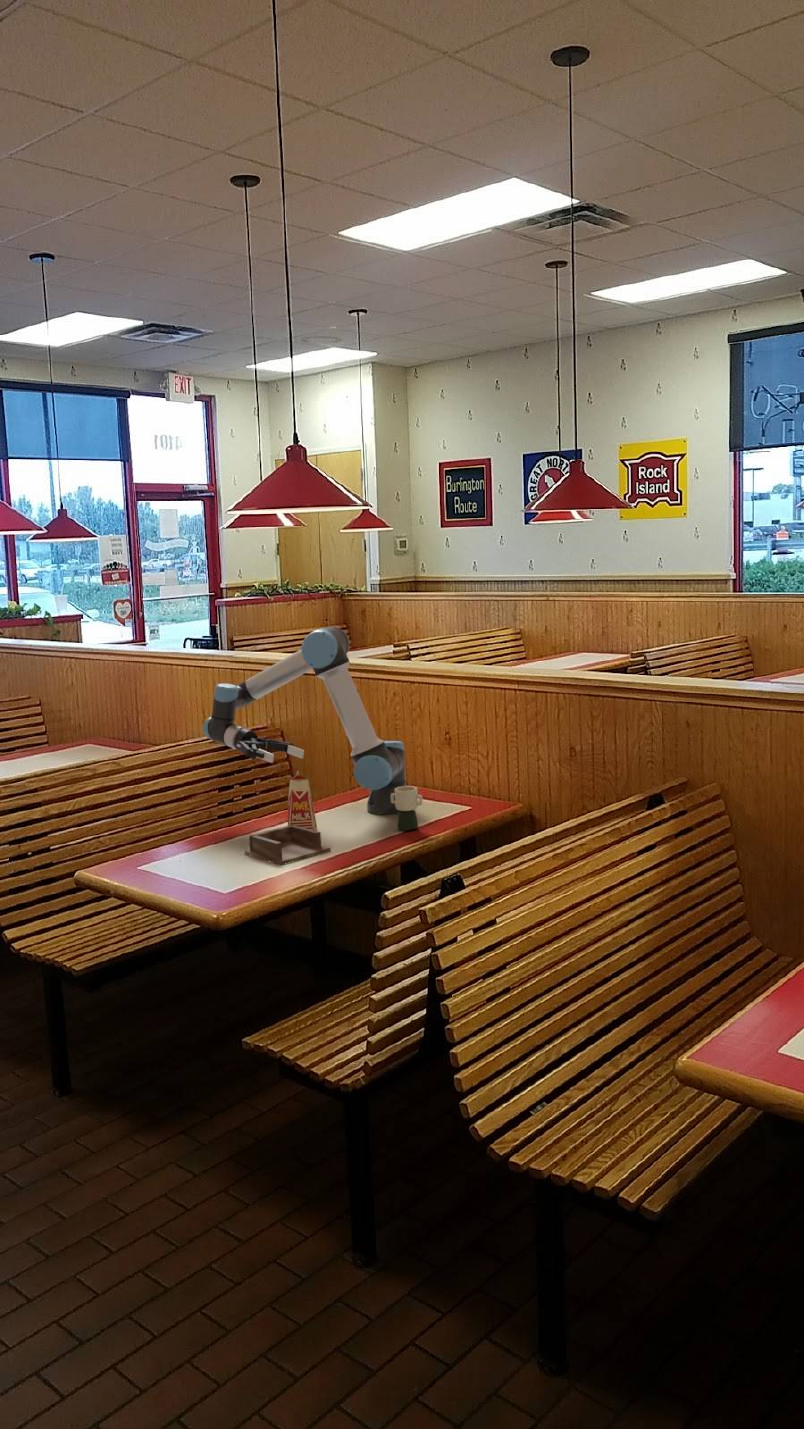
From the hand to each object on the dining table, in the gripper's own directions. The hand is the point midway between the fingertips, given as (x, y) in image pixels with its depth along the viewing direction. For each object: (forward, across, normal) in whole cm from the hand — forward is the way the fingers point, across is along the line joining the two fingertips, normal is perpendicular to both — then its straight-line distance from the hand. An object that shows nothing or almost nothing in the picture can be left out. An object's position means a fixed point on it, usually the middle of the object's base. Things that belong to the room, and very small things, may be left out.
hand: (288, 756), depth 346 cm
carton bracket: (+22, +19, -21) cm, 36 cm away
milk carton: (+10, -1, -22) cm, 24 cm away
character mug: (+37, -18, -15) cm, 44 cm away
